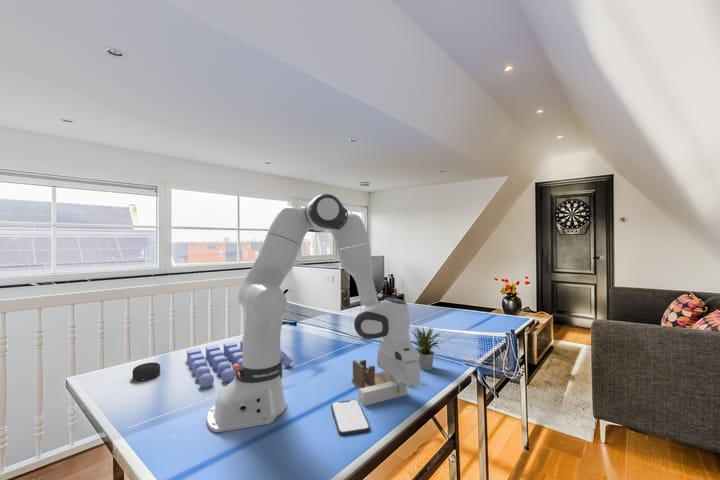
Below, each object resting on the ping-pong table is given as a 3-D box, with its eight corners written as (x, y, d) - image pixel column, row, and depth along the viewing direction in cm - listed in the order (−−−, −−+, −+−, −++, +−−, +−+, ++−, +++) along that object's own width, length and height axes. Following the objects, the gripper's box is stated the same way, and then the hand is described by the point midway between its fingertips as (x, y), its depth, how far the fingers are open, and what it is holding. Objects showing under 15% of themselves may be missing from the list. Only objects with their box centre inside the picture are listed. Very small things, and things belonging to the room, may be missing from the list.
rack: (363, 392, 110) (363, 368, 110) (351, 382, 118) (351, 359, 118) (412, 379, 120) (411, 358, 120) (398, 371, 128) (397, 350, 128)
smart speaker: (147, 382, 120) (146, 371, 120) (126, 380, 122) (126, 369, 122) (165, 372, 129) (165, 362, 129) (146, 371, 131) (146, 361, 131)
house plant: (442, 378, 121) (442, 334, 120) (405, 373, 125) (404, 330, 125) (445, 364, 134) (445, 324, 134) (411, 360, 139) (411, 321, 138)
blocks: (267, 345, 161) (267, 335, 161) (295, 368, 133) (295, 356, 133) (187, 361, 142) (186, 349, 142) (200, 392, 113) (199, 377, 113)
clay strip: (363, 405, 102) (363, 393, 102) (359, 401, 105) (359, 388, 105) (407, 394, 109) (407, 382, 109) (401, 390, 111) (401, 378, 111)
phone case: (371, 434, 88) (358, 403, 104) (371, 428, 88) (358, 398, 104) (338, 439, 86) (330, 407, 102) (338, 433, 86) (330, 402, 102)
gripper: (372, 340, 116) (372, 379, 116) (406, 359, 98) (406, 405, 98) (387, 337, 119) (387, 375, 119) (423, 355, 101) (423, 400, 101)
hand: (396, 389), depth 109 cm, fingers closed on clay strip, 3 cm apart
